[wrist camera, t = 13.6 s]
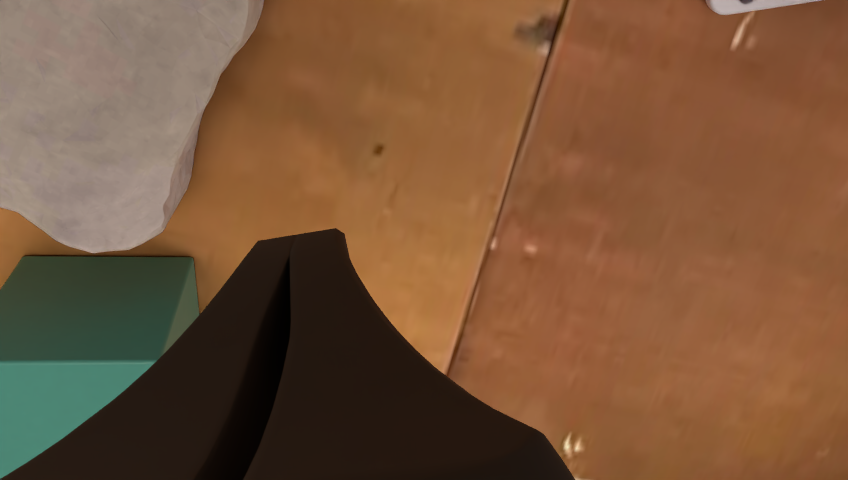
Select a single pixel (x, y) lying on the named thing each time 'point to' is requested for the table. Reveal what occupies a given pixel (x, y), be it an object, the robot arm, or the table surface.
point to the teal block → (81, 339)
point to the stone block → (108, 109)
